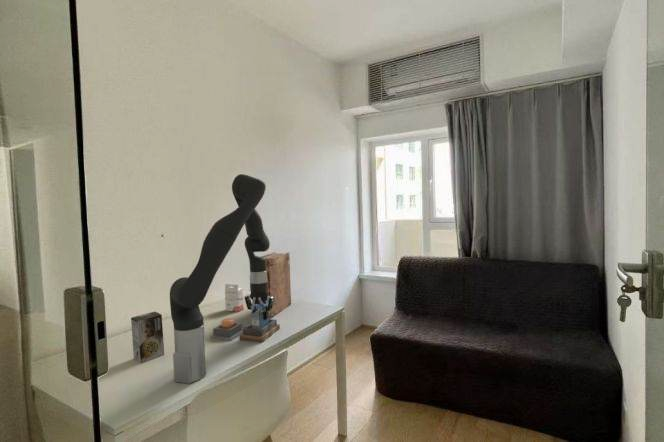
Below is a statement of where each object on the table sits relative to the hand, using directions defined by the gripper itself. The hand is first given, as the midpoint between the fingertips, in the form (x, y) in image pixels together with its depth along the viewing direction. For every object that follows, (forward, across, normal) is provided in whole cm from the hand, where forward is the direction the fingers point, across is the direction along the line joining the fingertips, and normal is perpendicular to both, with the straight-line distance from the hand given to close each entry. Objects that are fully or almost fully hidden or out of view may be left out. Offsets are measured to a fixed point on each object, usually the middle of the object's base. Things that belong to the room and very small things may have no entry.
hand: (260, 319), depth 154 cm
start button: (+4, +14, +4) cm, 15 cm away
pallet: (+7, 0, 0) cm, 7 cm away
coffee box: (+7, +31, +31) cm, 44 cm away
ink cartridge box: (+7, +32, -29) cm, 44 cm away
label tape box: (+5, 0, 0) cm, 5 cm away
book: (+7, +10, -33) cm, 35 cm away
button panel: (+7, +14, +4) cm, 16 cm away
